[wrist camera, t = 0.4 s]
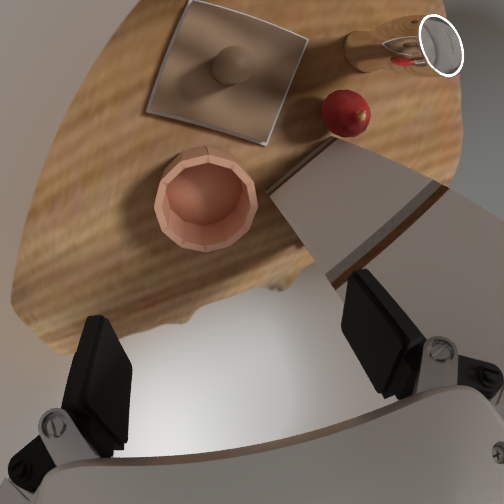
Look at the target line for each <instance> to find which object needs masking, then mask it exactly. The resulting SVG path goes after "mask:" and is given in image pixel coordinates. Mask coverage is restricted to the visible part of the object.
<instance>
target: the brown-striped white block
mask: <svg viewBox="0 0 504 504" xmlns="http://www.w3.org/2000/svg"><path fill="white" fill-rule="evenodd" d="M266 193H267V194H268V195H269V197H270V198H271V200H272V201H273V202H274V204H275V205H276V206H277V208H278V209H279V210H280V212H281V213H282V215H283V216H284V217H285V219H286V220H287V222H288V223H289V224H290V226H291V227H292V228H293V230H294V231H295V233H296V234H297V236H298V237H299V238H300V240H301V241H302V243H303V244H304V245H305V247H306V248H307V250H308V251H309V253H310V254H311V255H312V257H313V258H314V260H315V261H316V263H317V264H318V266H319V267H320V268H321V270H322V271H323V272H324V274H325V276H326V277H327V278H328V280H329V282H330V283H331V285H332V286H333V287H334V289H335V290H336V292H337V293H338V295H339V296H340V298H341V299H342V301H343V302H344V303H345V296H346V288H347V281H348V277H349V276H350V275H351V273H352V272H353V271H355V270H360V269H364V268H366V269H368V270H369V271H370V272H371V273H372V274H373V276H374V277H375V278H376V279H377V280H378V281H379V282H380V284H381V285H382V286H383V287H384V288H385V289H386V290H387V292H388V293H389V294H390V295H391V296H392V298H393V299H394V300H395V301H396V302H397V303H398V305H399V306H400V307H401V308H402V309H403V311H404V312H405V313H406V314H407V315H408V317H409V318H410V319H411V320H412V321H413V323H414V324H415V325H416V326H417V328H418V329H419V330H420V331H421V333H422V334H423V335H424V336H425V338H426V339H427V340H428V339H429V338H431V337H434V336H442V337H445V338H447V339H449V340H451V341H452V342H453V343H454V344H455V346H456V347H457V350H458V354H459V355H463V356H466V357H470V358H474V359H478V360H482V361H485V362H489V363H492V364H495V365H496V366H497V367H499V369H500V370H501V371H502V373H503V376H504V221H503V220H502V219H500V218H499V217H497V216H496V215H494V214H492V213H490V212H489V211H488V210H486V209H484V208H483V207H481V206H479V205H478V204H476V203H474V202H473V201H471V200H469V199H467V198H466V197H464V196H462V195H460V194H459V193H457V192H455V191H453V190H451V189H450V188H448V187H446V186H444V185H442V184H440V183H438V182H436V181H434V180H432V179H430V178H428V177H426V176H424V175H422V174H420V173H418V172H416V171H414V170H412V169H410V168H408V167H406V166H403V165H401V164H399V163H397V162H395V161H392V160H390V159H388V158H386V157H383V156H381V155H379V154H376V153H374V152H371V151H369V150H367V149H364V148H362V147H359V146H357V145H354V144H351V143H349V142H346V141H344V140H341V139H338V138H335V137H333V136H331V137H329V138H328V139H327V140H326V141H325V142H323V143H322V144H321V145H320V146H318V147H317V148H316V149H315V150H314V151H312V152H311V153H310V154H309V155H308V156H306V157H305V158H304V159H303V160H302V161H300V162H299V163H298V164H297V165H296V166H294V167H293V168H292V169H291V170H290V171H288V172H287V173H286V174H285V175H284V176H283V177H281V178H280V179H279V180H278V181H277V182H276V183H274V184H273V185H272V186H271V187H270V188H269V189H267V190H266Z"/></svg>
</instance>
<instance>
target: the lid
mask: <svg viewBox="0 0 504 504" xmlns="http://www.w3.org/2000/svg"><path fill="white" fill-rule="evenodd" d="M306 42H307V40H306V39H304V38H302V37H300V36H297V35H295V34H293V33H291V32H288V31H286V30H283V29H281V28H279V27H276V26H274V25H271V24H268V23H266V22H263V21H260V20H258V19H255V18H252V17H249V16H246V15H243V14H240V13H237V12H234V11H231V10H228V9H224V8H221V7H217V6H214V5H210V4H206V3H202V2H198V1H194V0H192V2H191V4H190V7H189V9H188V11H187V13H186V15H185V17H184V20H183V22H182V24H181V26H180V29H179V31H178V33H177V36H176V38H175V41H174V43H173V45H172V48H171V50H170V53H169V56H168V58H167V61H166V63H165V66H164V69H163V72H162V74H161V77H160V80H159V83H158V86H157V89H156V92H155V95H154V98H153V101H152V104H151V107H150V110H155V111H159V112H163V113H168V114H172V115H176V116H180V117H183V118H187V119H191V120H195V121H198V122H202V123H205V124H209V125H212V126H216V127H219V128H223V129H226V130H229V131H232V132H236V133H239V134H242V135H245V136H248V137H251V138H254V139H257V140H260V141H263V142H267V139H268V136H269V134H270V131H271V129H272V126H273V124H274V121H275V118H276V116H277V113H278V111H279V108H280V106H281V103H282V101H283V98H284V96H285V93H286V91H287V88H288V86H289V83H290V81H291V78H292V76H293V73H294V71H295V68H296V66H297V63H298V61H299V59H300V56H301V54H302V51H303V49H304V46H305V44H306Z"/></svg>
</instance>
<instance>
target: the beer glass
mask: <svg viewBox="0 0 504 504" xmlns="http://www.w3.org/2000/svg"><path fill="white" fill-rule="evenodd" d="M344 53H345V56H346V58H347V60H348V62H349V63H350V64H351V65H352V66H353V67H354V68H355V69H357V70H359V71H361V72H374V71H377V70H380V69H384V70H388V71H392V72H395V73H399V74H403V75H408V76H414V77H447V78H450V77H454V76H455V75H457V74H458V73H459V72H460V70H461V68H462V65H463V59H464V52H463V47H462V42H461V40H460V37H459V35H458V33H457V31H456V30H455V28H454V27H453V26H452V24H451V23H449V21H448V20H446V19H445V18H443V17H442V16H440V15H437V14H428V15H411V16H404V17H400V18H396V19H393V20H391V21H388V22H386V23H384V24H382V25H380V26H379V27H377V28H375V29H373V30H371V31H355V32H353V33H351V34H349V35H348V36H347V38H346V40H345V42H344Z"/></svg>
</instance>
